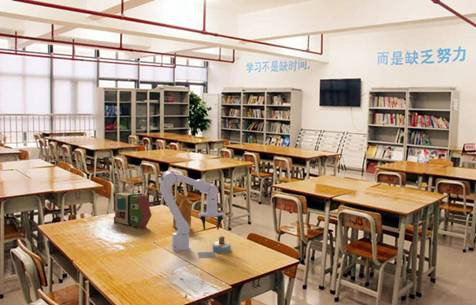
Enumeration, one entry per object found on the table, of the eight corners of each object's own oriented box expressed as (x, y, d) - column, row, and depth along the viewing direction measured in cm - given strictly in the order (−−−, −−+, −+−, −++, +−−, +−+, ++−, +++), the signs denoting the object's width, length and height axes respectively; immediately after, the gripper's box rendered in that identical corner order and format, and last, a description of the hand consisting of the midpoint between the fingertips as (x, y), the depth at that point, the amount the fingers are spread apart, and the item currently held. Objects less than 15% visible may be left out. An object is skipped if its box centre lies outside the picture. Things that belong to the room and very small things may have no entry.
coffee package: (184, 224, 292) (185, 191, 290) (192, 228, 281) (193, 195, 279) (170, 225, 287) (171, 192, 284) (178, 230, 276) (179, 196, 274)
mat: (199, 258, 226) (199, 258, 226) (197, 253, 235) (197, 252, 235) (216, 258, 228) (216, 257, 227) (213, 252, 236) (213, 251, 236)
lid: (213, 247, 235) (214, 239, 234) (212, 242, 243) (213, 234, 243) (230, 247, 236) (230, 239, 235) (229, 242, 244) (229, 234, 244)
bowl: (213, 253, 235) (213, 248, 234) (211, 247, 244) (211, 242, 244) (231, 253, 236) (231, 247, 236) (228, 247, 246) (228, 242, 245)
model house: (109, 192, 287) (141, 197, 270) (120, 190, 294) (151, 195, 277) (110, 223, 288) (141, 231, 271) (120, 221, 296) (151, 228, 279)
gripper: (199, 207, 239) (198, 231, 240) (225, 207, 242) (224, 231, 243) (198, 204, 246) (197, 228, 247) (223, 204, 248) (223, 227, 250)
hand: (211, 229), depth 245 cm, fingers open, 7 cm apart
